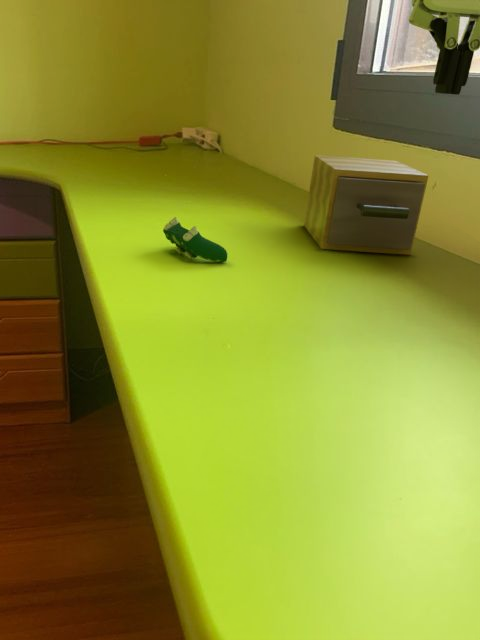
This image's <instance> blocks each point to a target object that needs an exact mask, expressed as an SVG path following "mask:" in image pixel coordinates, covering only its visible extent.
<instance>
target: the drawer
mask: <svg viewBox="0 0 480 640" xmlns="http://www.w3.org/2000/svg"><path fill="white" fill-rule="evenodd" d="M424 188H425V184H424V183H422V182H411V181H401V180H386V179H372V178H357V177H342V176H340V177H338V180H337V186H336V192H335V197H334V203H333V209H332V215H331V221H330V226H329V232H328V238H327V243H328V244H331V245H345V246H360V247H375V248H390V249H405V250H410V248H411V244H412V240H413V235H414V231H415V227H416V222H417V218H418V214H419V209H420V205H421V201H422V196H423V192H424Z"/></svg>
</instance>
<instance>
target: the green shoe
mask: <svg viewBox="0 0 480 640" xmlns="http://www.w3.org/2000/svg"><path fill="white" fill-rule="evenodd" d="M197 228H198V227H197V226H196V225H194V226H192V227H191V228H190V229H188V228H185V227H183V226H182V225H181V223H180V221H179V220H178V218H177V217H176V216H174V217H173V218H172V219H170V220H169V221H168V223H165V225H164V227H163V229H162V232H163V234H164V235H165V238H166V239H167V241H169V242H170V243H171V244H173V245H175V247H174V250H175V251H176V252H177V253H178V254H182V253H184V256H185V257H186V258H188V259H189V260H192V259H196V258H197V257H198V258H200V259H202V260H203V259H204V260H206V261H210V262H215V263H225V262H227V261H228V252H227V249H226V248H224V247H223V246H222V245H220V244H219V243H216V242H214V241H212V240H209V239H208V238H206V237H204V236H203V235H201V233H200V232H199V231H198V229H197Z"/></svg>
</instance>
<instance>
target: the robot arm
mask: <svg viewBox="0 0 480 640" xmlns="http://www.w3.org/2000/svg"><path fill="white" fill-rule="evenodd" d="M411 6H412V10H411V12H410V14H409V17H408V22H409V24H411V25H412V26H415V27H416V28H417V27H418V28H419V29H423V30H425V31H428V32H429V34H430V35H431V37H432V38H433V41H434V42H435V44H436V48H437V49H438V50H439V51H438V56H437V60H436V66H435V70H434V74H433V75H434V76H433V79H432V80H433V81H432V83H433V85H435V89H434V92H435V94H444V95H460V94H461V91H462V87H465V86H466V85H467V83H468V79H469V75H470V71H471V67H472V63H473V58H474V53H475V52H477V51H478V50H479V49H480V0H411ZM461 18H468V19H467V22H466V25H465V28H464V31H463V33H462V36H461V39H460V42H459V43H458V41H459V32H460V23H461Z"/></svg>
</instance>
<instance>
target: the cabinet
mask: <svg viewBox="0 0 480 640" xmlns="http://www.w3.org/2000/svg"><path fill="white" fill-rule="evenodd" d="M340 176H342V177H357V178H372V179H386V180H401V181H411V182H422V183H424V184H425V188H424V192H423V196H422V201H421V205H420V209H419V214H418V218H417V222H416V227H415V231H414V235H413V240H412V244H411V248H410V250H405V249H390V248H375V247H360V246H345V245H331V244H328V243H327V238H328V232H329V226H330V221H331V215H332V209H333V203H334V197H335V192H336V186H337V180H338V177H340ZM428 180H429V175H428V174H426V173H424V172H422V171H420V170H418V169H415V168H413V167H411V166H409V165H407V164H405V163H402V162H400V161H398V160H391V159H379V158H378V159H377V158H375V159H374V158H362V157H350V156H349V157H347V156H333V155H319V154H318V155H317V154H315V155H314V156H313V165H312V170H311V177H310V183H309V190H308V196H307V202H306V210H305V215H304V223H303V227H304V228H305V229H306V231H307V232H308V233H309V235H310V237H312V239H313V240H314V241H315V243H316V244H317V245H318V247H319V248H320V249H321V250H334V251H348V252H361V253H362V252H363V253H377V254H391V255H406V256H410V255H411V253H412V250H413V246H414V241H415V237H416V232H417V228H418V224H419V220H420V215H421V211H422V206H423V203H424V198H425V193H426V189H427V186H428V185H427V184H428Z"/></svg>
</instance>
